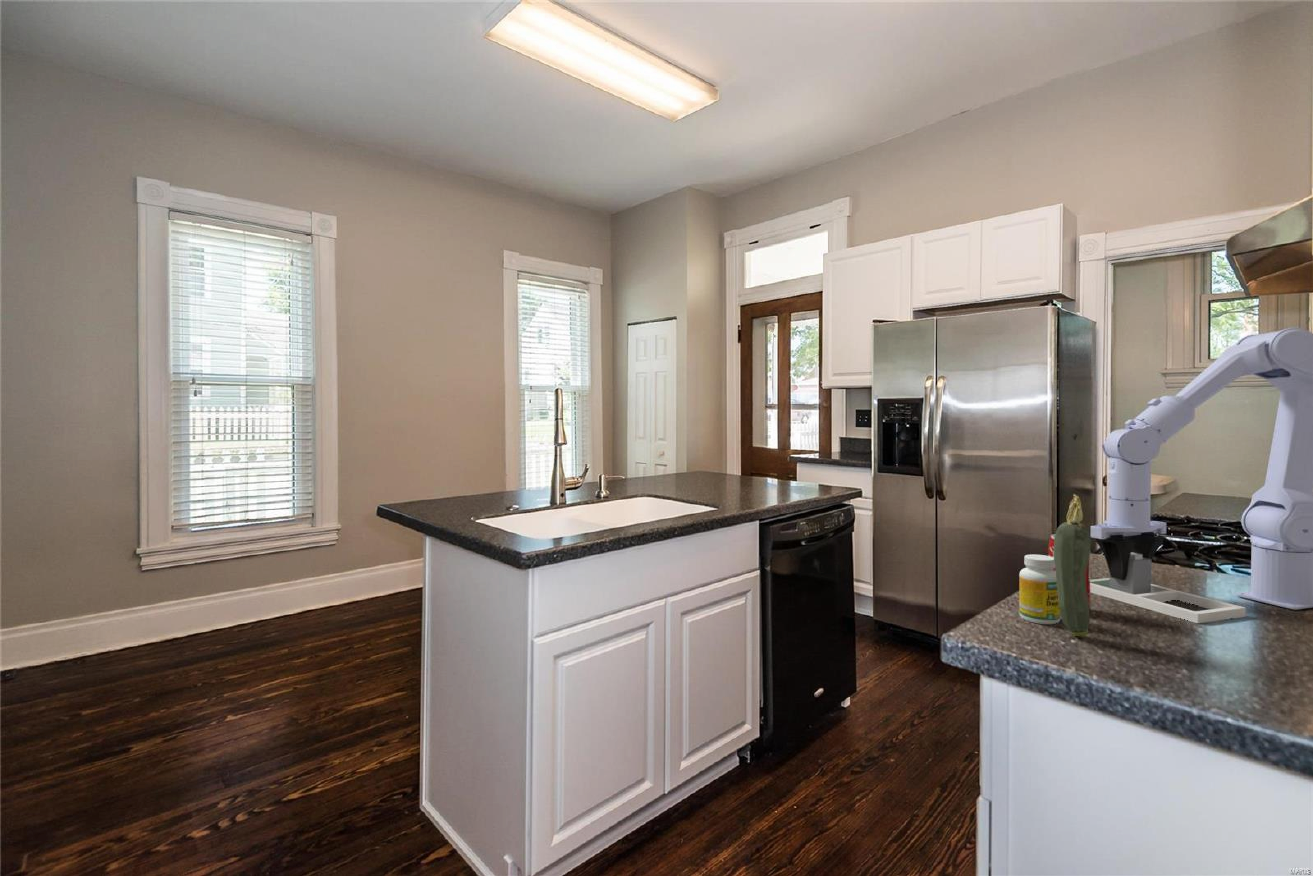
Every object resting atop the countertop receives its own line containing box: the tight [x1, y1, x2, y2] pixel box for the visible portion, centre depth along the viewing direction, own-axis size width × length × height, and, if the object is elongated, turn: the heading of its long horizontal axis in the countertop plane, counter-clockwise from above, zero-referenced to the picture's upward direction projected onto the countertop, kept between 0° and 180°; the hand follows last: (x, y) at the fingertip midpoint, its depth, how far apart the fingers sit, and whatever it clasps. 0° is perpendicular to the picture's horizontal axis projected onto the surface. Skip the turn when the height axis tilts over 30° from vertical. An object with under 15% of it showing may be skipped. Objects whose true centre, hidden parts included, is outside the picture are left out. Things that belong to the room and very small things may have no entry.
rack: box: [1090, 577, 1247, 624], centre depth 101 cm, size 10×19×1 cm, turn 15°
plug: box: [1109, 552, 1152, 595], centre depth 105 cm, size 4×4×7 cm
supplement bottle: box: [1018, 553, 1061, 625], centre depth 93 cm, size 5×5×10 cm
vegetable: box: [1054, 494, 1092, 638], centre depth 86 cm, size 4×4×20 cm
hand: (1128, 577), depth 105 cm, fingers closed on plug, 4 cm apart
